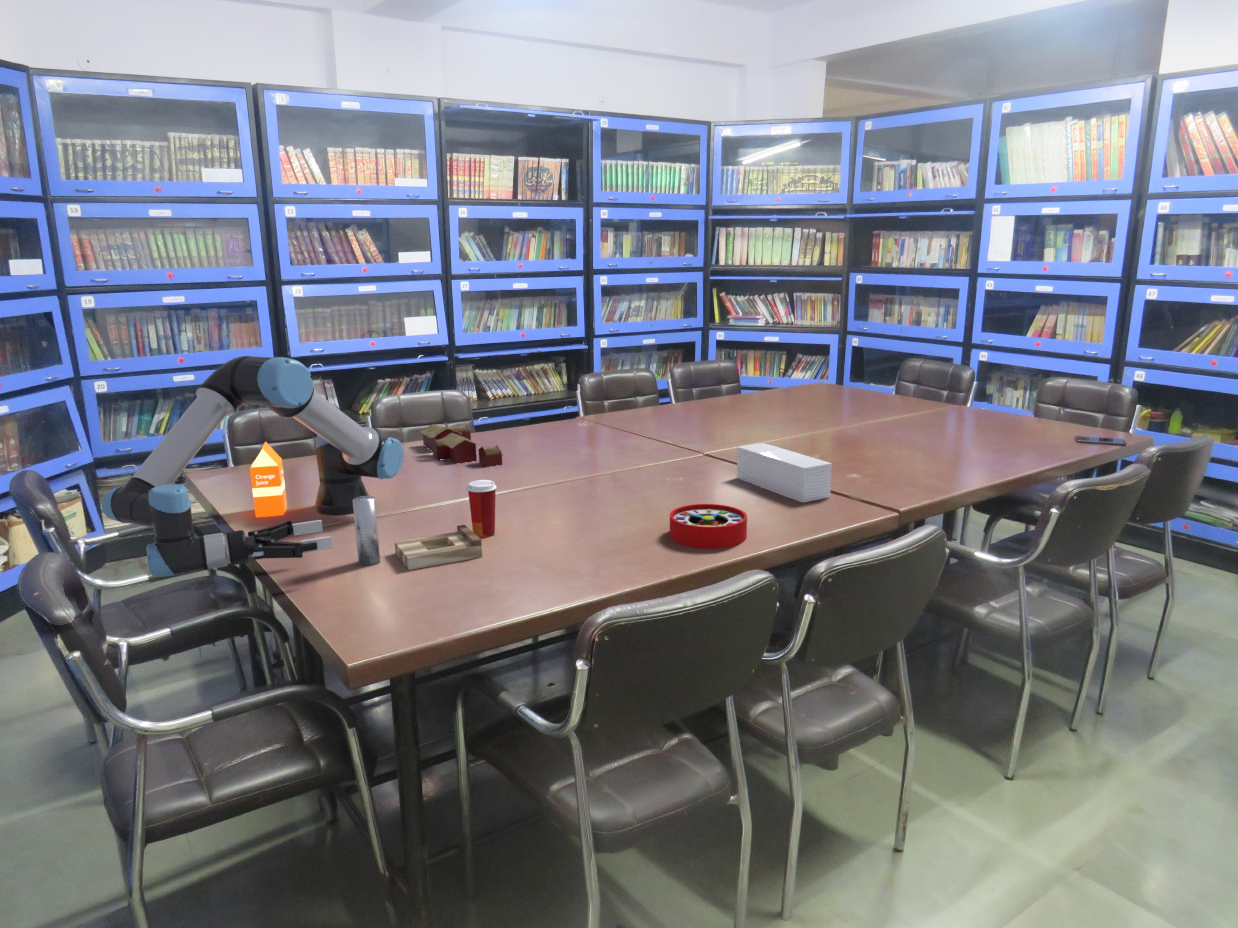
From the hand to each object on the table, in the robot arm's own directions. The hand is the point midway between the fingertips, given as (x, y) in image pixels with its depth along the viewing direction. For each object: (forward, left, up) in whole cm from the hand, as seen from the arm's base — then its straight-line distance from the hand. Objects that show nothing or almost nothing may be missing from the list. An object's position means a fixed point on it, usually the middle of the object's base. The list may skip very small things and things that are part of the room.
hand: (327, 533), depth 194 cm
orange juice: (-56, -7, -9) cm, 57 cm away
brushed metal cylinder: (0, +9, -9) cm, 13 cm away
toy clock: (+24, +91, -9) cm, 94 cm away
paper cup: (-6, +40, -9) cm, 42 cm away
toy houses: (-95, +62, -10) cm, 114 cm away
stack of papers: (-2, +136, -9) cm, 136 cm away
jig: (+3, +25, -9) cm, 27 cm away
